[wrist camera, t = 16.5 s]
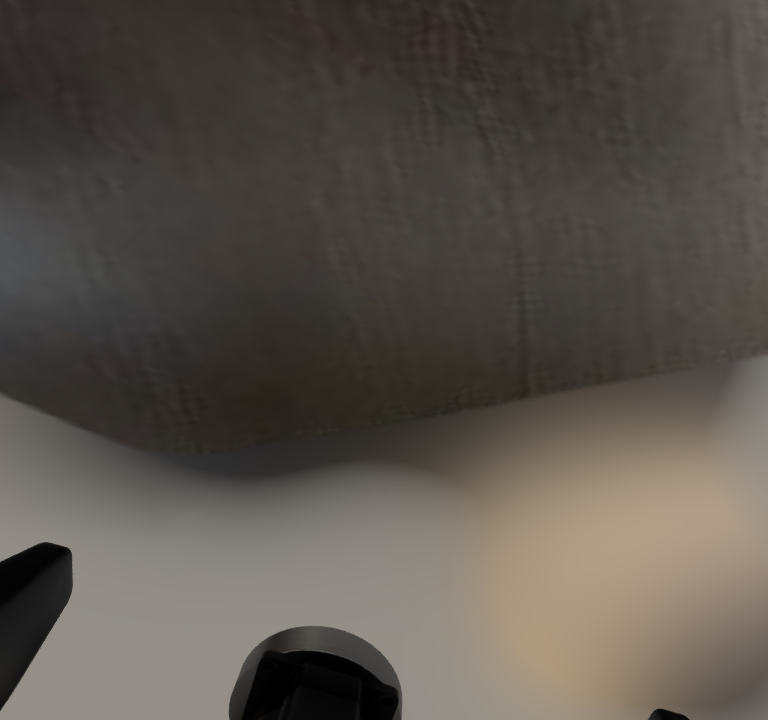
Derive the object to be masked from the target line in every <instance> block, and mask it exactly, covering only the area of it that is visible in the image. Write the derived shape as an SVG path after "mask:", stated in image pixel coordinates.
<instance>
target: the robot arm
mask: <svg viewBox="0 0 768 720" xmlns="http://www.w3.org/2000/svg"><path fill="white" fill-rule="evenodd" d="M72 586H73V580H72V553H71V551H70V549H68V548H67V547H64V546H60V545H56V544H53V543H48V542H44V543H40V544H37V545H35V546H33V547H31V548H29V549H27V550H24V551H23V552H20V553H18V554H16V555H14V556H12V557H10V558H8V559H5V560H4V561H1V562H0V711H1V709H2V708H3V706H4V705H5V703H6V702H7V701H8V699H9V697H10V696H11V694H12V693H13V691H14V690H15V688H16V687H17V685H18V684H19V682H20V680H21V679H22V677H23V675H24V673H25V672H26V670H27V669H28V667H29V665H30V664H31V662H32V660H33V659H34V657H35V656H36V654H37V652H38V651H39V649H40V647H41V646H42V644H43V642H44V641H45V639H46V637H47V636H48V634H49V632H50V631H51V629H52V627H53V626H54V624H55V622H56V621H57V619H58V618H59V616H60V614H61V613H62V611H63V609H64V607H65V606H66V604H67V603H68V600H69V598H70V595H71V592H72ZM267 661H271V662H273V663H274V664H270V663H268V662H267ZM385 697H390V699H386V698H385ZM398 703H399V692H398V690H397V689H396V688H395V687H393V686H390V685H387V684H383V683H380V682H377V681H373V680H370V679H367V678H364V677H360V676H357V675H354V674H350V673H347V672H344V671H340V670H337V669H334V668H330V667H327V666H324V665H320V664H317V663H314V662H310V661H307V660H304V659H301V658H297V657H294V656H291V655H287V654H284V653H281V652H277V651H274V650H268V651H265V652H264V653H263V654H262V655H261V658H260V660H259V663H258V667H257V670H256V673H255V676H254V680H253V683H252V686H251V690H250V693H249V696H248V699H247V703H246V706H245V709H244V712H243V716H242V719H241V720H392V719H393V717H394V714H395V712H396V709H397V707H398ZM648 720H689V719H688V718H687V717H686V716H684V715H682V714H679V713H675V712H671V711H668V710H664V709H656V710H655V711H653V713H652V714H651V716H650V717H649V719H648Z"/></svg>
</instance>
